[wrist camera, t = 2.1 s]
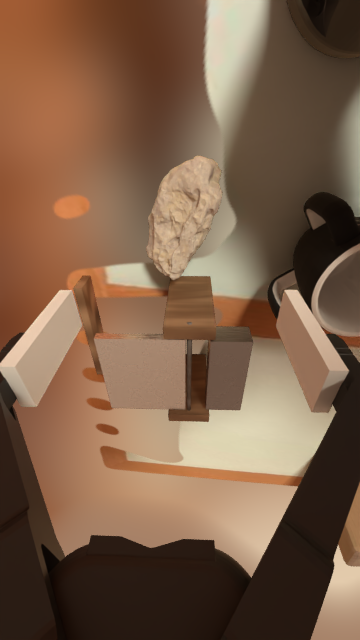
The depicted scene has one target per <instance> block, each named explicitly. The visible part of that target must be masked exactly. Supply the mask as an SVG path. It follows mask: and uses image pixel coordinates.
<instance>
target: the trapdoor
mask: <svg viewBox="0 0 360 640" xmlns="http://www.w3.org/2000/svg"><path fill="white" fill-rule="evenodd" d="M94 342H95V346H96V349H97V353H98V357H99V361H100V365H101V369H102V372H103V376H104V380H105V384H106V387H107V392H108V396H109V399H110V403H111V407H112V408H139V409H140V408H141V409H178V410H185V404H186V403H185V339H164V337H163V334H105V333H96V335H95V337H94ZM252 346H253V340H252V336H251V333H250V329H249V327H218V326H216V339H215V340H208V354H207V370H206V385H205V403H206V409H211V410H240V408H241V403H242V398H243V392H244V387H245V382H246V377H247V372H248V366H249V361H250V356H251V351H252Z"/></svg>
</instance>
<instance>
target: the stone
mask: <svg viewBox="0 0 360 640" xmlns="http://www.w3.org/2000/svg"><path fill="white" fill-rule="evenodd" d="M220 176H221V170H220V169H219V167H218V164H217V163H216V162H215V161H214V160H213V159H208V158H206V157H202V156H196V157H194V158H193V159H192V160H188V161H186V162H184V163H182V164H181V165H179V166H176V167H175V168H173V169H171V170H170V172H169V173H168V174H167V175H166V176H165V177H164V179H163V180H162V182H161V184H160V187H159V189H158V192H157V198H156V200H155V204H154V207H153V208H152V212H151V214H150V215H149V217H148V220H149V239H148V245H147V247H146V250H147V253H148V257H149V258H150V259H152V260H153V262H154V264H155V265H156V268H157V269H158V270H159V271H160V272H161V273H163V274H164V275H165V276H170V278H171V279H172V280H175V279H177V278H179V277H180V275H181V274H182V273H183V272H184V270H185V268H186V267H187V264H188V262H189V261H190V260H191V257H192V256H193V255H194V254H195V252H196V250H197V249H198V248H199V247H200V246H201V244H202V243H203V241H204V240H205V238H206V236H207V234H208V232H209V231H210V229H211V224H212V220H213V217H214V215H215V214H216V213H217V211H218V209H219V206H220V203H221V198H222V193H223V192H222V191H221V189H220V186H219V180H220Z"/></svg>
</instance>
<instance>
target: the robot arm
mask: <svg viewBox="0 0 360 640" xmlns="http://www.w3.org/2000/svg"><path fill="white" fill-rule="evenodd" d="M287 3H288V6H289V10H290V13H291V16H292V18H293V20H294V23H295V25H296V26H297V28H298V30H299V32H300V33H301V35H302V36H303V37H304V38H305V40H306V41H307V42H308V43H309V44H310V45H311V46H313V47H314V48H315V49H317V50H318V51H320V52H322V53H324V54H326V55H329V56H333V57H338V58H353V57H359V56H360V0H287ZM81 327H82V323H81V319H80V316H79V312H78V309H77V306H76V302H75V299H74V296H73V292H72V290H60V291H59V292H58V293H57V294H56V296H55V297H54V298H53V299H52V301H51V302H50V303H49V304H48V305H47V307H46V308H45V309H44V311H43V312H42V313H41V314H40V315H39V316H38V318H37V319H36V320H35V321H34V322H33V324H32V325H31V326H30V327H29V329H28V330H27V331H26V332H25V333H19V334H17V335H16V336H15V337H13V338H12V339H11V340H10V341H9V342H8V343H7V344H6V347H4V348H3V349H2V350H1V352H0V640H310V639H311V636H312V633H313V630H314V628H315V625H316V622H317V619H318V615H319V613H320V610H321V607H322V604H323V601H324V598H325V595H326V592H327V589H328V586H329V583H330V580H331V577H332V574H333V570H334V562H333V559H334V554H335V552H336V549H337V546H338V543H339V540H340V537H341V534H342V532H343V529H344V526H345V523H346V520H347V517H348V514H349V512H350V509H351V506H352V503H353V500H354V497H355V494H356V491H357V489H358V486H359V483H360V363H359V362H358V360H357V359H356V357H355V356H354V355H353V353H352V352H351V350H350V349H349V348H348V346H347V345H346V343H345V342H344V340H342V339H341V338H340V337H338V336H337V335H336V334H325V333H324V331H323V329H322V328H321V326H320V325H319V323H318V322H317V320H316V319H315V317H314V315H313V314H312V312H311V311H310V309H309V308H308V306H307V305H306V303H305V301H304V300H303V298H302V297H301V295H300V294H299V292H298V290H284V293H283V297H282V302H281V306H280V310H279V315H278V319H277V323H276V328H277V330H278V333H279V335H280V337H281V340H282V342H283V345H284V347H285V349H286V352H287V354H288V357H289V359H290V361H291V364H292V366H293V369H294V371H295V373H296V376H297V378H298V381H299V383H300V385H301V388H302V390H303V393H304V395H305V397H306V400H307V402H308V405H309V407H310V409H311V412H326V413H329V411H330V409H331V407H332V404H333V406H334V408H335V410H336V414H335V416H334V418H333V420H332V422H331V424H330V426H329V428H328V430H327V432H326V434H325V436H324V438H323V440H322V441H321V443H320V445H319V447H318V449H317V451H316V453H315V455H314V457H313V459H312V461H311V463H310V465H309V467H308V469H307V471H306V473H305V475H304V477H303V479H302V481H301V482H300V484H299V486H298V488H297V490H296V492H295V494H294V496H293V498H292V500H291V502H290V504H289V506H288V508H287V510H286V512H285V514H284V516H283V518H282V520H281V522H280V523H279V525H278V527H277V529H276V531H275V533H274V535H273V537H272V539H271V541H270V543H269V545H268V547H267V549H266V551H265V553H264V555H263V556H262V558H261V561H260V562H259V564H258V566H257V568H256V570H255V572H254V574H253V576H252V578H251V577H250V576H249V574H248V573H247V572H246V571H245V570H244V568H243V567H242V566H241V565H240V564H239V563H238V562H237V561H235V560H234V559H233V558H232V557H230V556H229V555H227V554H226V553H224V552H222V551H220V550H217V549H215V546H214V540H194V539H182V540H179V541H175V542H172V543H168V544H165V545H162V546H158V547H155V548H149V547H146V546H143V545H141V544H138V543H136V542H133V541H131V540H128V539H126V538H123V537H120V536H98V535H92V536H91V538H90V542H89V544H88V545H85V546H83V547H81V548H78V549H77V550H75V551H74V552H72V553H70V554H69V555H67V556H66V557H65V555H64V553H63V551H62V548H61V546H60V545H59V542H58V540H57V538H56V535H55V533H54V529H53V526H52V523H51V520H50V517H49V514H48V511H47V508H46V505H45V502H44V498H43V495H42V492H41V489H40V486H39V483H38V480H37V477H36V474H35V471H34V468H33V464H32V462H31V458H30V455H29V452H28V449H27V446H26V443H25V440H24V437H23V433H22V431H21V427H20V424H19V421H18V418H17V415H16V412H15V409H14V408H13V406H12V405H13V403H14V402H15V401H16V399H17V400H18V402H19V404H20V405H21V406H22V407H37V405H38V403H39V401H40V400H41V398H42V396H43V394H44V393H45V391H46V389H47V387H48V385H49V384H50V382H51V380H52V378H53V376H54V375H55V373H56V371H57V369H58V367H59V366H60V364H61V362H62V361H63V359H64V357H65V355H66V353H67V352H68V350H69V348H70V346H71V344H72V343H73V341H74V339H75V337H76V336H77V334H78V332H79V330H80V328H81Z"/></svg>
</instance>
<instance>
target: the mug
mask: <svg viewBox="0 0 360 640" xmlns="http://www.w3.org/2000/svg"><path fill="white" fill-rule="evenodd" d="M304 212H305V215H306V218H307V220H308V223H309V225H310V229H309V230H308V231H306V232H305V234H304V235H303V236H302V237H301V239H300V240H299V242H298V244H297V246H296V248H295V252H294V257H293V267H294V268H292V269H291V270H289V271H287V272H285V273H283V274H281V275H280V276H278V277H276V278H275V279H274V280H273V281H272V282H271V283H270V285H269V288H268V292H267V295H268V301H269V304H270V307H271V309H272V311H273V313H274V315H275V317H276V319H278V315H279V310H280V306H281V300H280V297H279V296H280V293H281V292H282V291H283V290H285V289H286V288H288V287H290V286H292V285H294V284H296V283H297V284H298V287H299V290H300V293H301V295H302V297H303V299H304V301H305V303H306V305H307V306H308V308H309V309H310V311H311V312H312V314H313V315H314V317H315V319H316V320H317V322H318V323H319V325H320V326H321V327H322V328H324V329H325V330H327V331H329V332H331V333H333V334H336V335H340V336H348V337H357V336H360V217H355V216H354V214H353V211H352V209H351V207H350V206H349V205H348V204H347V202H345V201H344V200H342V199H341V198H339V197H337V196H335V195H332V194H330V193H327V192H320V193H317V194H314V195H313V196H311V197H310V198H309V199H308V200H307V201H306V202H305V204H304Z"/></svg>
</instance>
